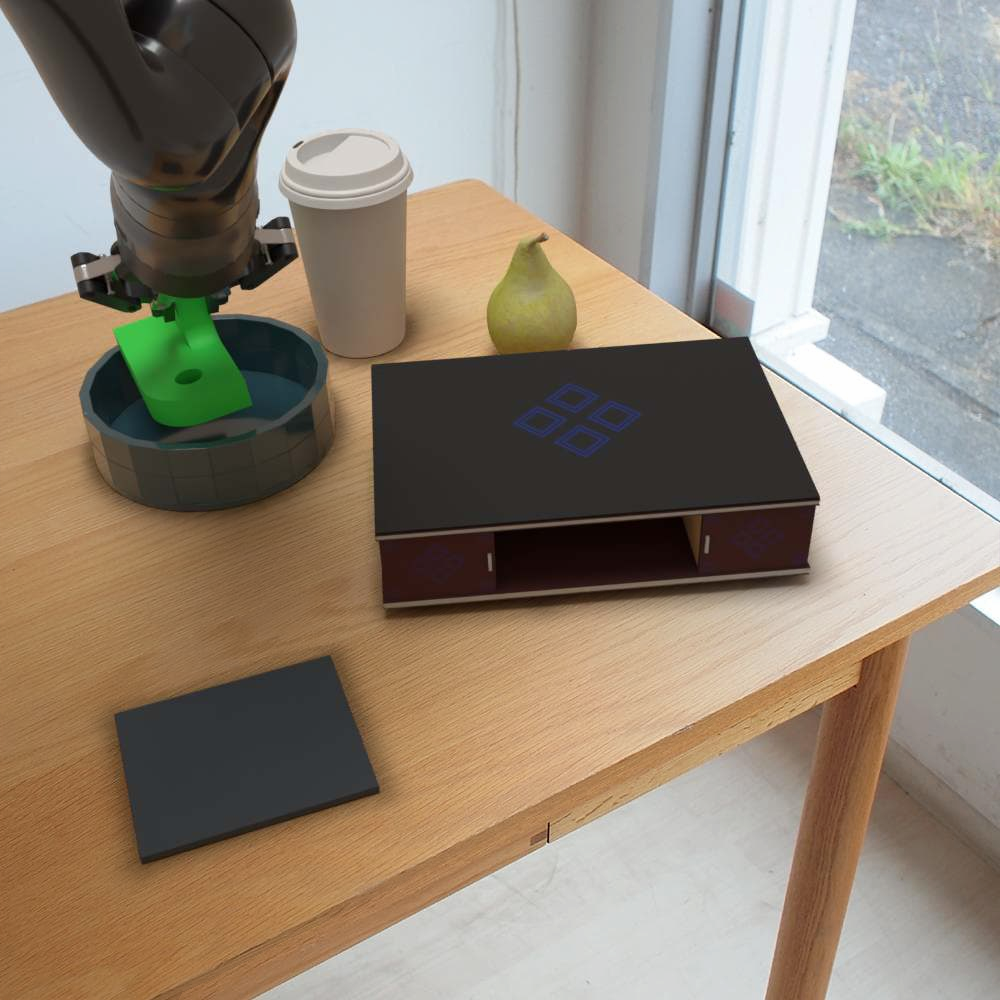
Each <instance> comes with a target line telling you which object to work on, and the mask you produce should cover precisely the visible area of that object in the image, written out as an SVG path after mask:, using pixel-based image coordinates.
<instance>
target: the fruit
mask: <svg viewBox="0 0 1000 1000" xmlns="http://www.w3.org/2000/svg"><path fill="white" fill-rule="evenodd" d="M549 239H550V236H549V235H548V234H547V233H546V232H541V233H540V235H538V236H536V237H533V236H527V237H524V238H522V239H521V240H520V241H519V242H518V243H517V245H516V248H515V250H514V252H513V255H512V256H511V261H510V263H509V264H508V268H507V270H506V272H505V274H504V276H503V278H502V279H501V280H500V282H499V283H498V284H497V285H496V286H495V288H493V290H492V291H491V293H490V297H489V298H488V302H487V304H486V305H487V306H486V324H487V331H488V334H489V337H490V339H491V341H492V343H493V345H494V347H495V348H496V350H497V351H498V352H499V353H500V355H503V354H517V353H530V352H544V351H557V350H567V349H568V347H569V346H570V344H571V343H572V342H573V340H574V336H575V333H576V330H577V326H578V311H577V303H576V298H575V295H574V292H573V290H572V288H571V286H570V285H569V284H568V282H567V281H566V280H565V279H564V278H563V277H562V275H560V273H558V271H557V270H556V269H555V268H554V267H553V265H551V262H550V261H549V260H548V257H547V255H546V253H545V250H544V249H543V248H542V246H541V244H542V243H544V242H547V241H548V240H549Z"/></svg>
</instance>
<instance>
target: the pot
mask: <svg viewBox="0 0 1000 1000" xmlns="http://www.w3.org/2000/svg"><path fill="white" fill-rule="evenodd" d="M211 317H212V320H213V323H214V326H215V329H216V331H217V334H218V336H219V338H220V340H221V342H222V344H223V345H224V347H225V348H226V350H227V352H228V353H229V355H230V356H231V358H232V360H233V361H234V363H235V364H236V366H237V368H238V369H239V371H240V373H241V374H242V376H243V377H244V379H245V382H246V385H247V389H248V392H249V395H250V398H251V402H252V406H249V407H246V408H243V409H241V410H238V411H235V412H232V413H230V414H227V415H224V416H221V417H219V418H216V419H213V420H210V421H208V422H205V423H201V424H197V425H192V426H184V427H174V426H167V425H164V424H161V423H159V422H157V421H156V420H154V418H153V417H152V416H151V414H150V412H149V410H148V408H147V406H146V403H145V401H144V399H143V397H142V395H141V393H140V391H139V389H138V387H137V385H136V383H135V381H134V379H133V377H132V375H131V373H130V371H129V369H128V366H127V364H126V362H125V360H124V358H123V356H122V354H121V351H120V349H119V346H118V344H117V345H115V346H113V347H112V348H110V349H108V350H107V351H105V352H104V353H103V354H102V356H100V357H99V359H97V360H96V362H95V363H94V364H93V365H92V366H91V367H90V368H89V369H88V370H87V371H86V373H85V376H84V379H83V381H82V383H81V386H80V389H79V391H78V397H79V402H80V409H81V412H82V417H83V420H84V424H85V427H86V431H87V434H88V438H89V442H90V445H91V449H92V452H93V456H94V460H95V463H96V467H97V468H98V470H99V473H100V474H101V476H102V478H103V479H104V481H105V482H106V483H107V484H108V485H109V486H110V487H111V488H112V489H113V490H115V491H116V492H117V493H119V494H120V495H122V496H123V497H125V498H127V499H129V500H131V501H132V502H136V503H138V504H141V505H144V506H146V507H151V508H155V509H161V510H168V511H178V512H207V511H209V512H210V511H216V510H217V511H218V510H225V509H230V508H234V507H240V506H244V505H247V504H250V503H253V502H257V501H260V500H263V499H265V498H268V497H271V496H274V495H275V494H277V493H280V492H281V491H283V490H286V489H287V488H289V487H291V486H293V485H294V484H296V483H297V482H299V481H300V480H302V479H303V478H305V477H306V476H307V475H309V474H310V473H311V472H312V471H313V470H314V469H315V468H316V467H317V466H318V465H319V464H320V463H321V462H322V460H323V459H324V458H325V457H326V456H327V454H328V452H329V450H330V448H331V447H332V444H333V441H334V439H335V434H336V433H335V432H336V422H335V421H336V409H335V400H334V393H333V386H332V378H331V370H330V363H329V359H328V358H327V355H326V353H325V351H324V349H323V347H322V345H321V343H320V342H319V341H318V340H316V339H315V338H314V337H313V336H312V335H310V334H309V333H307V332H306V331H305V330H304V329H302V328H301V327H299V326H297V325H293V324H290V323H287V322H285V321H282V320H279V319H276V318H274V317H270V316H269V317H268V316H260V315H253V314H246V313H224V314H223V313H221V314H211Z"/></svg>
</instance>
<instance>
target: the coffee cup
mask: <svg viewBox="0 0 1000 1000" xmlns="http://www.w3.org/2000/svg"><path fill="white" fill-rule="evenodd" d="M413 180H414V170H413V168H412V164H411V162H410V161H409V159H408V157H407V156H406V154H405V153H404V152H402V149H401V146H400V144H399V143H398V141H397V140H396V139H395V138H394V137H392V136H391V135H388V134H386V133H383V132H381V131H377V130H372V129H366V128H336V129H330V130H324V131H320V132H316V133H313V134H309V135H307V136H305V137H302V138H300V139H299V140H297V141H296V142H294V143H293V144H292V145H291V146H290V147H289V148H288V150H287V152H286V155H285V161H284V163H283V164H282V165H281V168H280V172H279V177H278V183H277V185H278V190H279V192H280V193H281V194H282V196H283V197H284V198H286V199H287V201H288V204H289V209H290V214H291V218H292V222H293V226H294V230H295V234H296V238H297V243H298V247H299V252H300V256H301V260H302V264H303V269H304V273H305V278H306V281H307V282H306V283H307V286H308V290H309V295H310V299H311V303H312V308H313V311H314V316H315V320H316V324H317V329H318V333H319V338H320V341H321V344H322V346H323V347H324V348H325V349H326V350H327V351H329V352H330V353H332V354H334V355H337V356H339V357H345V358H351V359H364V358H372V357H377V356H380V355H384V354H387V353H389V352H391V351H393V350H394V349H396V348H398V346H399V345H401V344H402V342H403V341H404V340H405V337H406V312H407V311H406V310H407V309H406V305H407V304H406V301H407V299H406V298H407V297H406V296H407V295H406V294H407V293H406V292H407V291H406V290H407V285H406V284H407V223H408V222H407V216H408V215H407V213H408V210H407V209H408V188H409V187H410V186H411V184H412V183H413Z"/></svg>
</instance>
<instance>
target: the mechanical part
mask: <svg viewBox="0 0 1000 1000" xmlns="http://www.w3.org/2000/svg"><path fill="white" fill-rule="evenodd" d="M174 305H175V320H176V321H172V322H167V323H165V321H164V318H163V316H162V317H157V318H155V317H153V316H152V315H150V316H147V317H145V318H142V319H139V320H135V321H132V322H130V323H126V324H123V325H121V326H118V327H115V328H112V332H113V335H114V337H115V340H116V343H117V345H118V346H119V349H120V351H121V354H122V356H123V358H124V360H125V362H126V364H127V366H128V369H129V371H130V373H131V375H132V377H133V379H134V381H135V383H136V385H137V387H138V389H139V391H140V393H141V395H142V397H143V399H144V401H145V403H146V406H147V408H148V410H149V412H150V414H151V416H152V417H153V418H154V420H156V421H157V422H159V423H161V424H164V425H167V426H174V427H184V426H192V425H197V424H201V423H205V422H208V421H210V420H213V419H216V418H219V417H221V416H224V415H227V414H230V413H232V412H235V411H238V410H241V409H243V408H246V407H249V406H252V402H251V398H250V395H249V392H248V389H247V385H246V382H245V379H244V377H243V376H242V374H241V373H240V371H239V369H238V368H237V366H236V364H235V363H234V361H233V360H232V358H231V356H230V355H229V353H228V352H227V350H226V348H225V347H224V345H223V344H222V342H221V340H220V338H219V336H218V334H217V331H216V329H215V326H214V323H213V320H212V317H211V315H212V314H208V310H207V304H206V299H205V297H201V298H192V299H185V298H177V301H176V302H174Z"/></svg>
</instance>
